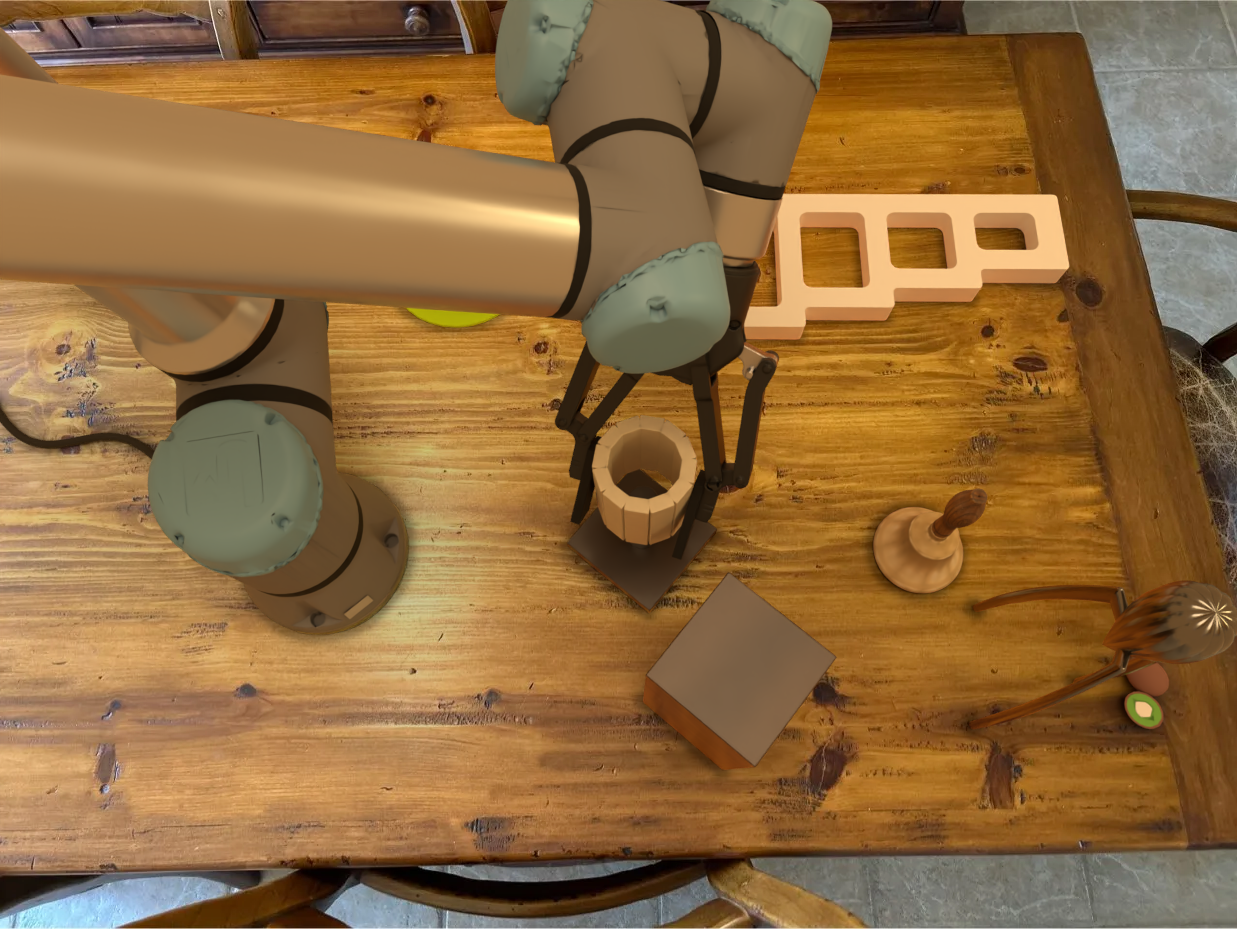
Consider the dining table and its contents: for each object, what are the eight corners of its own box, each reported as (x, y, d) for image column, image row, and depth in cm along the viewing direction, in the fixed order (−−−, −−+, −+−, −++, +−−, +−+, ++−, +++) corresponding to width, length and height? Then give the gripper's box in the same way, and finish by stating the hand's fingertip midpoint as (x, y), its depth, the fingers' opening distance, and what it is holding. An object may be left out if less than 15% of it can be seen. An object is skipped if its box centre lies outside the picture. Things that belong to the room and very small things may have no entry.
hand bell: (856, 527, 84) (905, 473, 69) (933, 494, 85) (998, 432, 70) (900, 607, 81) (960, 569, 66) (979, 572, 82) (1056, 526, 67)
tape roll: (579, 506, 72) (572, 470, 63) (637, 440, 74) (637, 396, 65) (650, 562, 70) (652, 533, 62) (707, 494, 72) (717, 456, 64)
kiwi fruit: (1093, 685, 78) (1108, 682, 76) (1132, 649, 79) (1148, 644, 77) (1141, 736, 77) (1158, 735, 74) (1181, 698, 78) (1198, 696, 75)
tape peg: (567, 546, 84) (556, 508, 72) (634, 469, 86) (634, 420, 74) (649, 613, 81) (651, 586, 70) (715, 532, 84) (729, 492, 72)
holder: (1045, 210, 95) (1056, 194, 93) (1071, 361, 89) (1084, 348, 87) (627, 208, 96) (627, 193, 94) (625, 358, 90) (625, 345, 88)
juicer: (974, 602, 81) (1156, 510, 53) (1082, 681, 79) (1333, 628, 50) (916, 687, 79) (1074, 637, 51) (1025, 771, 76) (1256, 768, 48)
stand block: (642, 702, 79) (645, 675, 58) (704, 624, 81) (728, 571, 60) (722, 770, 77) (755, 767, 56) (784, 688, 79) (837, 656, 58)
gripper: (859, 279, 61) (760, 552, 71) (581, 198, 63) (524, 472, 74) (857, 305, 54) (749, 601, 64) (546, 213, 57) (490, 511, 67)
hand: (629, 532), depth 69 cm, fingers closed on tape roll, 8 cm apart
